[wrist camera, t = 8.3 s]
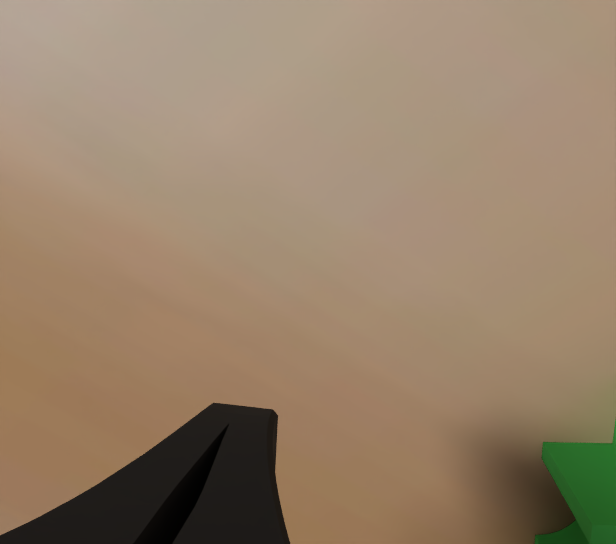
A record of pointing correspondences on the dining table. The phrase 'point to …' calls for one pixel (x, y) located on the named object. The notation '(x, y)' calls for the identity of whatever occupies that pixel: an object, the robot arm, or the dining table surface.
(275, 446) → the robot arm
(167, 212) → the dining table surface
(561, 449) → the pipe clamp
